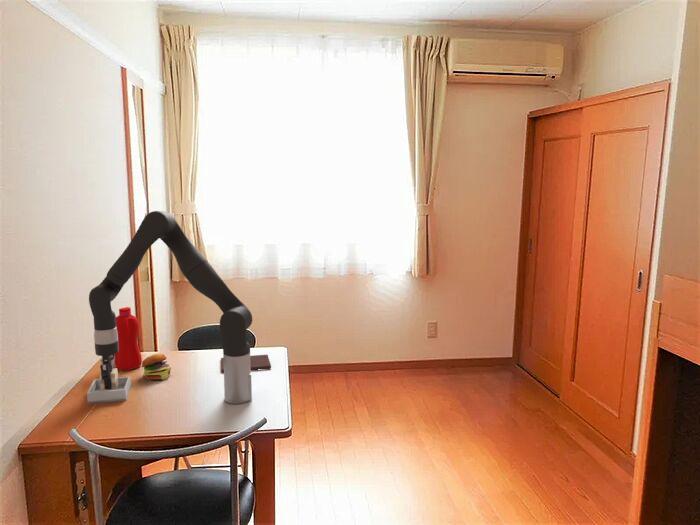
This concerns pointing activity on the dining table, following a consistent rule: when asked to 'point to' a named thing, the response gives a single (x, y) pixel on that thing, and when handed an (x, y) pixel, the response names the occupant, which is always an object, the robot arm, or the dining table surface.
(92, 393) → the grey bin
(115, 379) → the birch block
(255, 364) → the notebook
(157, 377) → the cheeseburger
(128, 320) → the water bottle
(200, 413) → the dining table surface
